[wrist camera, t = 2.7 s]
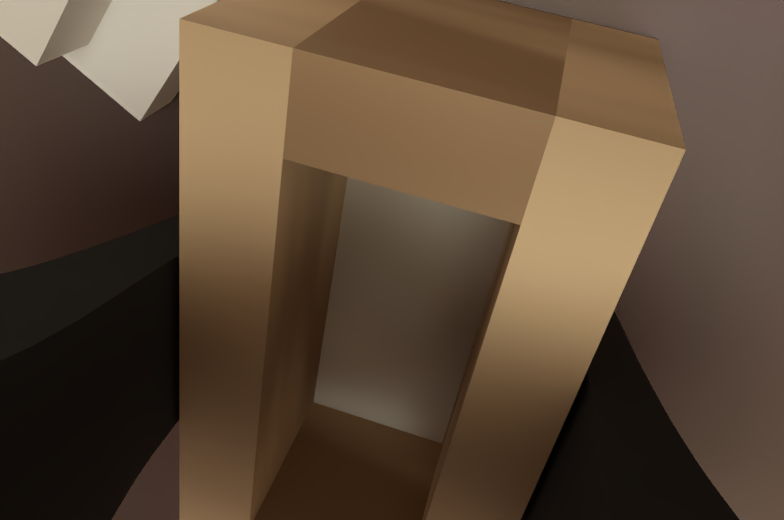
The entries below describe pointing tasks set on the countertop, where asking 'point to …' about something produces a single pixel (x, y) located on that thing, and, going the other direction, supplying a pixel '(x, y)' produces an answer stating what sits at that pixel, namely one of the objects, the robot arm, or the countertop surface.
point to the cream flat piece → (106, 43)
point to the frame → (400, 247)
